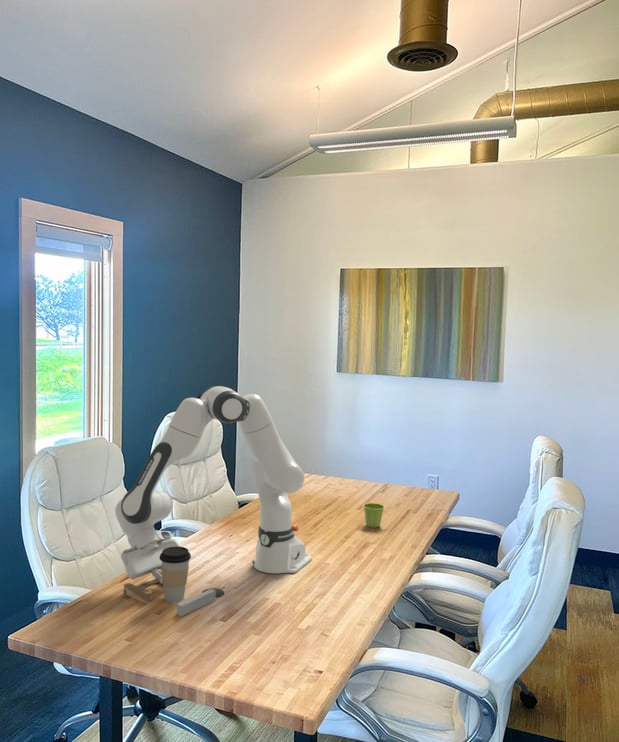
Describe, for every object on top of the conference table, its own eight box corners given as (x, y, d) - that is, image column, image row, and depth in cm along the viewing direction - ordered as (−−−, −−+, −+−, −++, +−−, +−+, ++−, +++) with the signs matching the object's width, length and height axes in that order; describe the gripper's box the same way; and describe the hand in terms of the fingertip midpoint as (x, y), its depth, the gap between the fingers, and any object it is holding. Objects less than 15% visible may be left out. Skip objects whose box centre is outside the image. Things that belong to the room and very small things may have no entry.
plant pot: (383, 523, 274) (384, 503, 273) (384, 529, 265) (385, 509, 264) (362, 521, 275) (363, 502, 274) (362, 528, 265) (362, 508, 265)
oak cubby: (161, 578, 206) (162, 569, 206) (185, 587, 200) (185, 578, 199) (123, 593, 193) (124, 584, 193) (147, 603, 187) (147, 594, 187)
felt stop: (210, 598, 192) (210, 588, 192) (215, 600, 191) (215, 590, 191) (176, 614, 181) (177, 604, 181) (181, 616, 180) (181, 606, 179)
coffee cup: (194, 594, 194) (196, 548, 193) (179, 607, 185) (181, 559, 184) (168, 589, 197) (170, 543, 196) (151, 601, 188) (153, 553, 187)
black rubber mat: (212, 586, 201) (212, 586, 201) (228, 592, 197) (228, 592, 197) (196, 594, 195) (196, 593, 195) (213, 600, 191) (213, 599, 191)
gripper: (123, 546, 188) (144, 586, 183) (174, 530, 205) (194, 566, 200) (114, 557, 191) (134, 597, 186) (165, 540, 208) (184, 576, 203)
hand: (165, 581), depth 193 cm, fingers closed, pressing on coffee cup
